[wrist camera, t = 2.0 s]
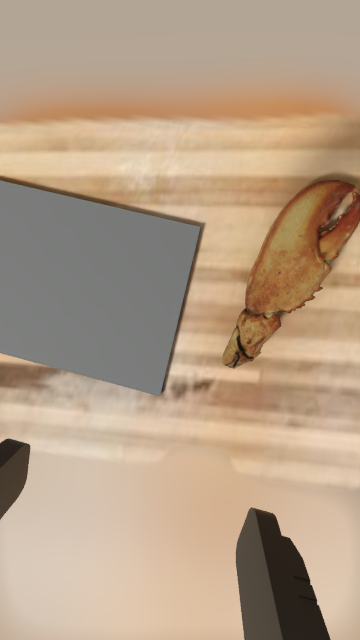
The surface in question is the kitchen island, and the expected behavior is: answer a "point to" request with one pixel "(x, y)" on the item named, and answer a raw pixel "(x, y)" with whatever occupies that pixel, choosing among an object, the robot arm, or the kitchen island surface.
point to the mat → (91, 286)
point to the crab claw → (291, 264)
